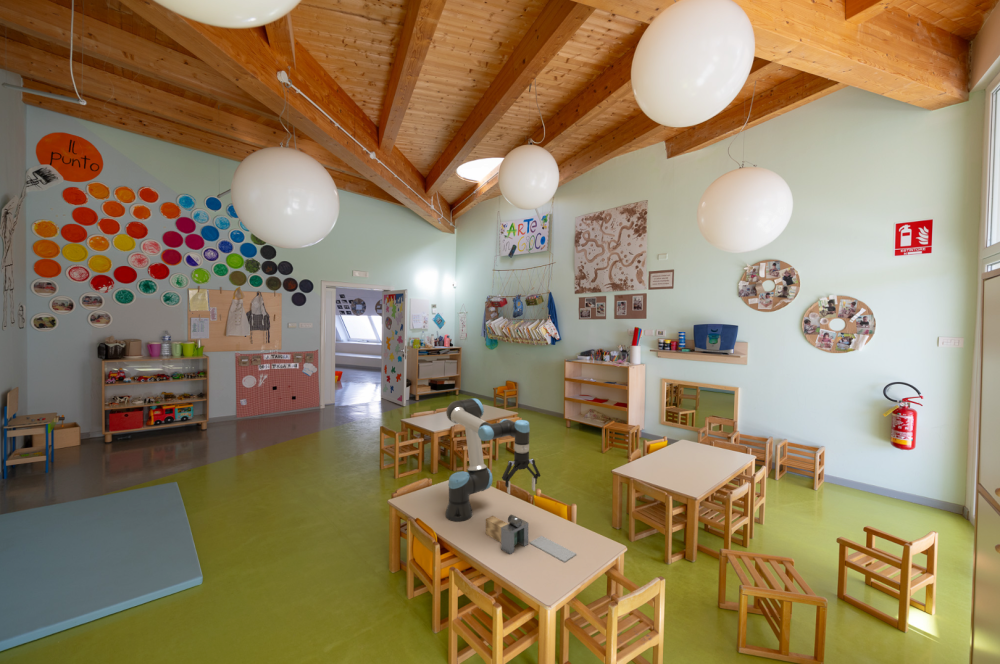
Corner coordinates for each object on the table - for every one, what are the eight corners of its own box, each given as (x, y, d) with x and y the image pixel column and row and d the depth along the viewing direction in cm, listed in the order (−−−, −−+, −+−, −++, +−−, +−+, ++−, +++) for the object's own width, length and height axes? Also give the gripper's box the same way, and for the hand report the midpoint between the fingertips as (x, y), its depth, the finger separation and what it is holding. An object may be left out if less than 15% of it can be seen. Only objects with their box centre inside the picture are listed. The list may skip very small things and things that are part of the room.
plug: (485, 533, 217) (485, 518, 216) (492, 530, 220) (492, 515, 220) (509, 547, 204) (509, 532, 203) (517, 544, 207) (517, 528, 207)
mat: (529, 543, 207) (529, 542, 207) (541, 536, 214) (541, 535, 214) (564, 562, 191) (564, 561, 191) (576, 554, 198) (576, 553, 198)
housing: (501, 549, 202) (501, 519, 202) (519, 539, 211) (519, 510, 210) (509, 554, 198) (509, 523, 197) (528, 544, 207) (528, 514, 206)
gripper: (500, 455, 205) (500, 497, 206) (547, 451, 212) (546, 491, 213) (496, 450, 212) (495, 491, 214) (541, 446, 219) (540, 485, 221)
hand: (521, 491), depth 214 cm, fingers open, 13 cm apart
